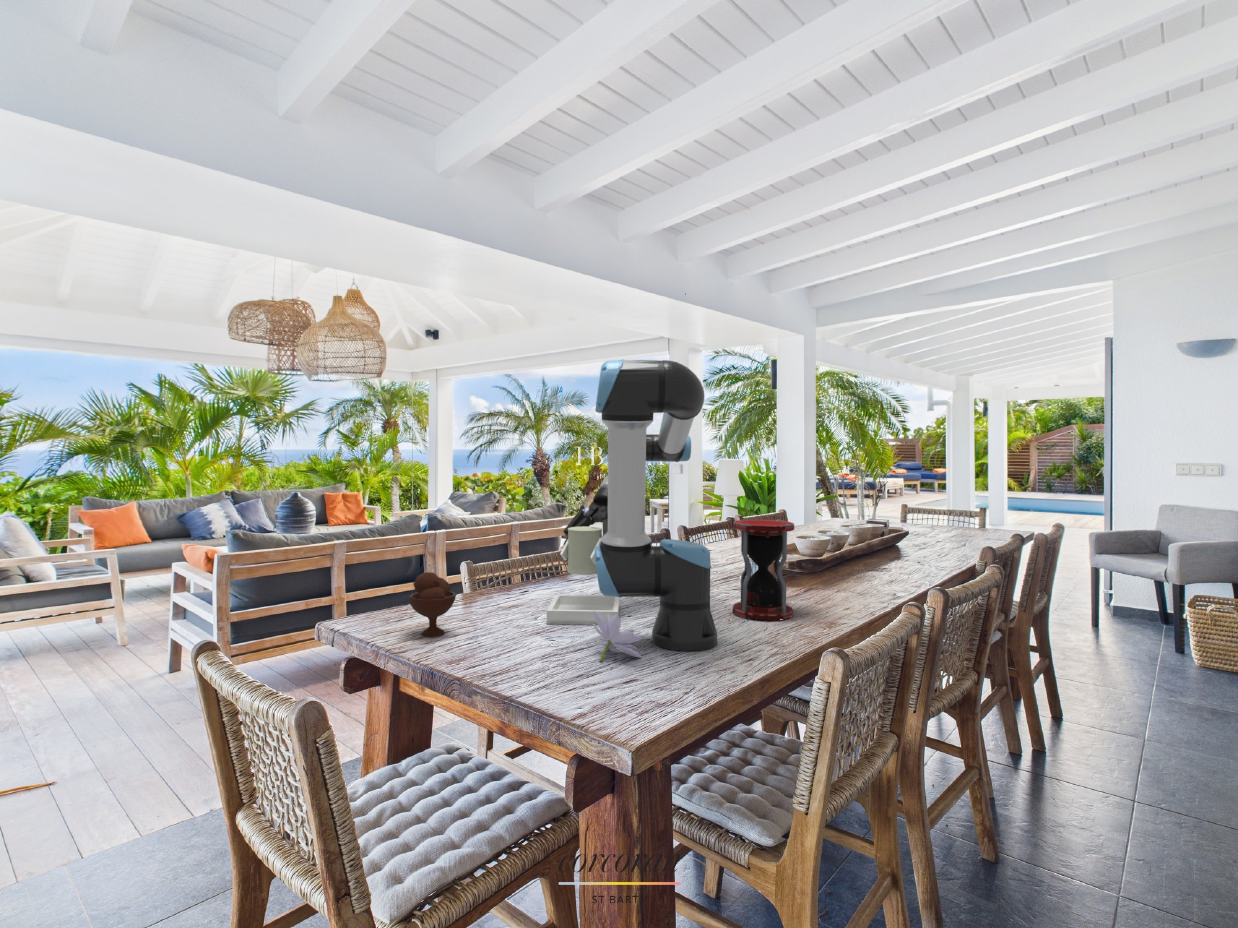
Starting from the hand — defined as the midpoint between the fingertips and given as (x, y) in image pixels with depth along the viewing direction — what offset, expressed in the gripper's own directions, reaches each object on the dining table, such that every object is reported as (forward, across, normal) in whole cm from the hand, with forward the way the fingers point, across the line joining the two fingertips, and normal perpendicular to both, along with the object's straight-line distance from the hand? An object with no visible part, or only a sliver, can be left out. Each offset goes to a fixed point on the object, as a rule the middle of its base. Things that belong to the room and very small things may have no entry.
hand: (577, 558), depth 174 cm
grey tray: (+9, 0, -14) cm, 16 cm away
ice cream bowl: (+33, +21, +10) cm, 40 cm away
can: (+1, 0, -5) cm, 5 cm away
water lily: (+26, -26, +4) cm, 37 cm away
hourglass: (-11, -39, -34) cm, 53 cm away
